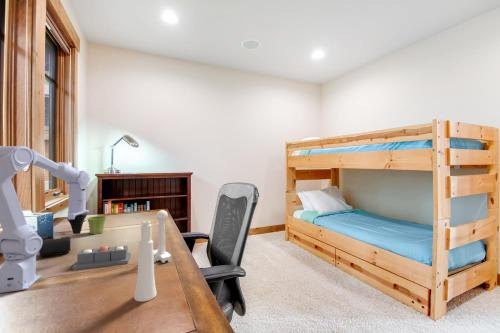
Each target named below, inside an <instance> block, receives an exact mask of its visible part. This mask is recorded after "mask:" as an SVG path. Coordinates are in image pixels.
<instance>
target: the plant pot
mask: <svg viewBox="0 0 500 333" xmlns="http://www.w3.org/2000/svg"><path fill="white" fill-rule="evenodd" d="M106 219H107V216H106V215H97V216H95V215H94V216H90V217H87V218H86V220H87V223H88V228H89V234H90V235H91V234H92V235H98V234H103V233H104V229H105V228H104V227H105V223H106Z"/></svg>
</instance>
